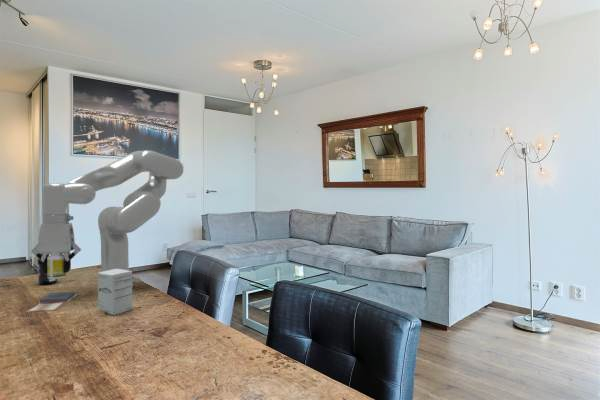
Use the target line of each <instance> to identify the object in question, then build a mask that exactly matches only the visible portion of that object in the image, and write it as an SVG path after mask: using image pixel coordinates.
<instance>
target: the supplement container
mask: <svg viewBox="0 0 600 400" xmlns="http://www.w3.org/2000/svg"><path fill="white" fill-rule="evenodd" d="M56 283H58V279H48V277H47V273H44V271H43V270H42V261H41V260H40V259H39V258H38V257H37V284H38V285H40V286H49V285H50V286H51V285H55V284H56Z"/></svg>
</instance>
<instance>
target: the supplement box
mask: <svg viewBox="0 0 600 400" xmlns="http://www.w3.org/2000/svg"><path fill="white" fill-rule="evenodd" d="M132 278H133V271H132V270H129V271H128V270H122V269H112V270H108V271H103V272H101V271H99V272H97V287H98V289H97V299H98V300H97V303H98V304H97V307H98V308H97V309H98V311H102V312H104V314H108V315H111V316H115V315H118V314H122V313H125V312H127V311H130V310H132V309H133V287H132Z"/></svg>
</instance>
